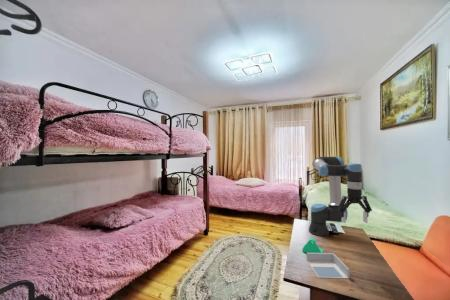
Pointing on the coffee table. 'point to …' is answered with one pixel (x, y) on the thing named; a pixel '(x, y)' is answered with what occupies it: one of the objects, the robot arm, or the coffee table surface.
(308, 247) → the camera mount
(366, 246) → the coffee table surface
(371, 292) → the coffee table surface
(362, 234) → the coffee table surface
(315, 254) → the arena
